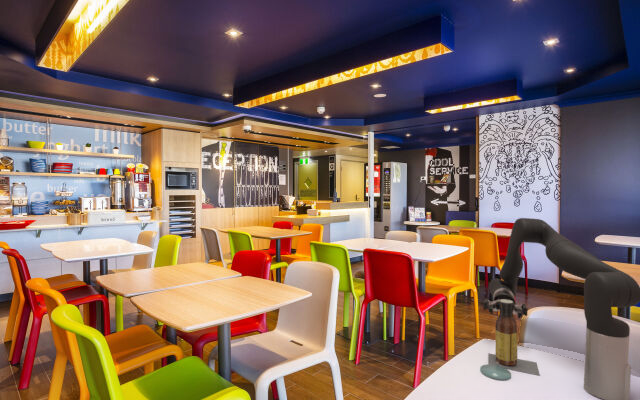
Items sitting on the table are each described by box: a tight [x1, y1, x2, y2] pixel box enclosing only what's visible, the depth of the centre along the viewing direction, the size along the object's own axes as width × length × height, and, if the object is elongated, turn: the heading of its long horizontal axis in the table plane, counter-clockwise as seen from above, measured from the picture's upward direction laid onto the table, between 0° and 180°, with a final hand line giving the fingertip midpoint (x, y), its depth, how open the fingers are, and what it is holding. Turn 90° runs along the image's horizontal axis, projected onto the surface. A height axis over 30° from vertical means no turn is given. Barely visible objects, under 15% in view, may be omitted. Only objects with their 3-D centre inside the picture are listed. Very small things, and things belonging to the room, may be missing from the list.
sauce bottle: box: [495, 299, 518, 366], centre depth 116 cm, size 7×6×20 cm
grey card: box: [487, 353, 541, 377], centre depth 115 cm, size 14×9×1 cm, turn 65°
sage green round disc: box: [479, 364, 512, 381], centre depth 109 cm, size 8×8×1 cm
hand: (505, 313), depth 126 cm, fingers open, 8 cm apart
